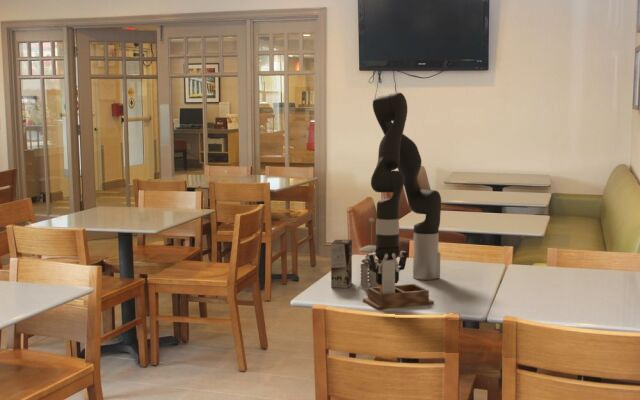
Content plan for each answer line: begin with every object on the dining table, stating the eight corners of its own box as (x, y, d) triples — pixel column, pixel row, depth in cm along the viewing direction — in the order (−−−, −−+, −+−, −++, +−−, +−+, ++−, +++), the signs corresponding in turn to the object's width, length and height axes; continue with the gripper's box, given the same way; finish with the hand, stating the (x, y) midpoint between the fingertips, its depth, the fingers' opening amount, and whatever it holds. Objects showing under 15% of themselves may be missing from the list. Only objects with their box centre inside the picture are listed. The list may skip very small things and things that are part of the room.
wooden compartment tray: (416, 295, 260) (417, 282, 259) (433, 304, 249) (434, 290, 248) (362, 301, 253) (362, 287, 253) (377, 310, 242) (377, 296, 241)
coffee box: (348, 288, 271) (348, 243, 269) (330, 287, 272) (330, 243, 270) (352, 282, 280) (352, 239, 278) (335, 282, 281) (335, 238, 279)
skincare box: (379, 293, 252) (379, 257, 251) (392, 292, 252) (392, 257, 251) (382, 297, 246) (382, 261, 245) (395, 297, 246) (395, 261, 245)
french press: (388, 285, 275) (388, 216, 272) (380, 292, 264) (380, 221, 261) (362, 283, 278) (362, 215, 275) (353, 290, 268) (352, 220, 265)
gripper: (402, 229, 253) (401, 279, 255) (362, 231, 248) (362, 283, 250) (412, 232, 246) (412, 284, 248) (371, 235, 241) (371, 288, 243)
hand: (387, 283), depth 249 cm, fingers closed on skincare box, 5 cm apart
